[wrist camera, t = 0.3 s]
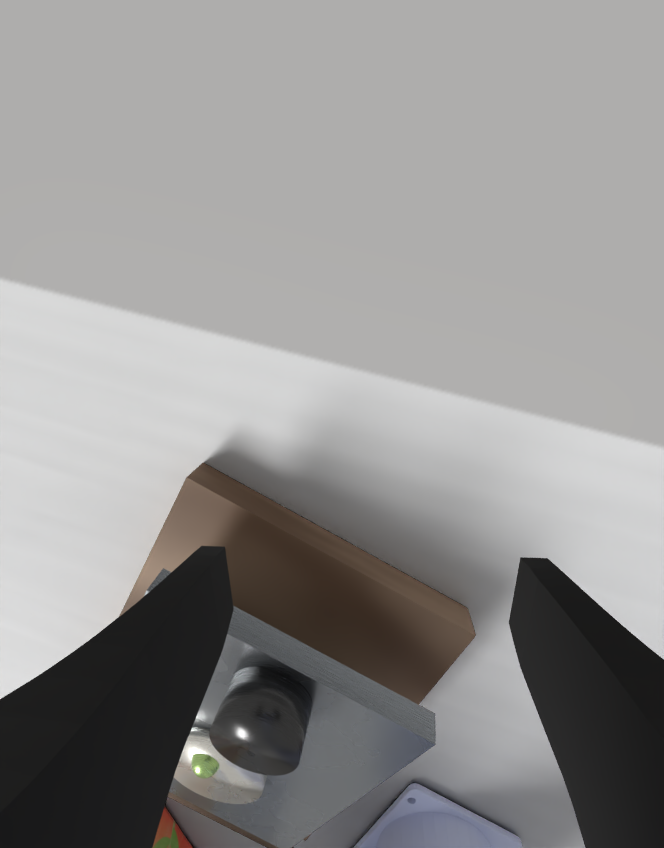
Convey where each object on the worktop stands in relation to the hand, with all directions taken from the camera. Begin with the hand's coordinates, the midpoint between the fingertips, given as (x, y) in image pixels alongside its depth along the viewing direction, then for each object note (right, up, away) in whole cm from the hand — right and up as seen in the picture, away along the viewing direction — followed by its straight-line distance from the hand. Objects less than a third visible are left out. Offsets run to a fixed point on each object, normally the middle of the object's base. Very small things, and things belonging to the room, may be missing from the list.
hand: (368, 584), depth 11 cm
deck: (-6, -11, +11) cm, 16 cm away
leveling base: (-5, -9, +15) cm, 18 cm away
